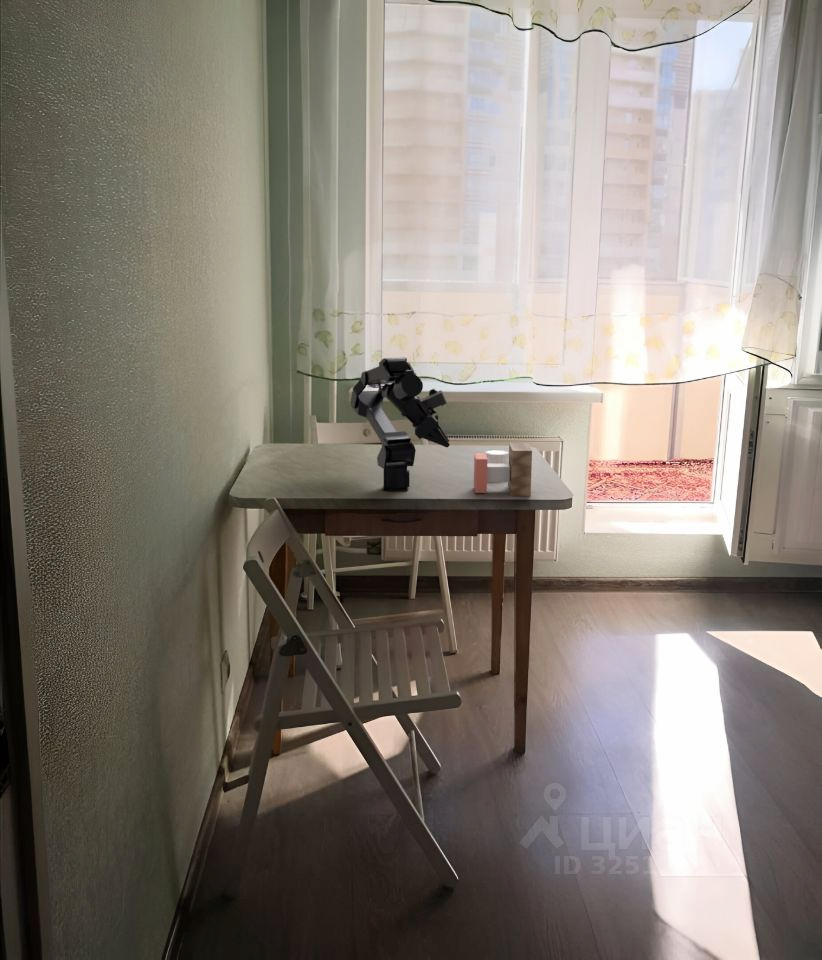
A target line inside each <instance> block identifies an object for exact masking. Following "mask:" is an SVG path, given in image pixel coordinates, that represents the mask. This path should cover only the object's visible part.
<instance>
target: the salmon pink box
mask: <svg viewBox="0 0 822 960" xmlns="http://www.w3.org/2000/svg"><path fill="white" fill-rule="evenodd" d="M473 456H474V459H473V460H474V461H473V489H474V493H475V494H487V493H488V492H487V489H488V488H487V487H488V482H489V483H508V482H509V480H510V466H509V463H507V464H487V456H486V453H485V452H484V453H482V452H481V453H478V452H477V453H476V452H475V453H473Z"/></svg>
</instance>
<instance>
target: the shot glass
mask: <svg viewBox="0 0 822 960" xmlns="http://www.w3.org/2000/svg"><path fill="white" fill-rule="evenodd" d="M484 453H486V456H487V464H509V451H507V450H503V449H490V450H489V449H488V450H485V451H484Z"/></svg>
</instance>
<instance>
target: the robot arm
mask: <svg viewBox="0 0 822 960" xmlns="http://www.w3.org/2000/svg"><path fill="white" fill-rule="evenodd" d="M360 375H361V376H360V379H359V380H358V382H357V383H356V384H355V385H354V386H353V388H352V391H351V392H352V393H351V397H350V405H351V406H350V407H351V408H352V409H353V411H354V412H355V413H356V415H358V416H360V417H363V418H365V419H366V420H367V421H368V423H369V424H370V426H371V427H372V429H373V431H374V432H375V434H376V436H377V437H378V439H379V441H380V442H381V448H380V449H379V452H378V455H377V456H376V461H377V465H378V467H380V468H381V469H383V485H382V491H384V492H406V491H408V489H409V488H410V470H408V467H413V466H414V463H415V460H416V459H415V458H416V452H417V451H416V447H415V445H414V444H413V441H411V440H412V438H411V437H410V436H409V435H408V432H407V431H405V430H403V431H402V430H401V431H400V430H399V431H397V430H396V429H395V426H394V425H393V424H392V422H391V421H390V419H389V418H388V416H387V415H386V413H385V412H384V410H383V409H382V407H383V406H382V405H383V402H384V399H386V400H388V401H389V402H390V403H391V405H393V406H394V407H395V408H396V409H397V410H398V411H399V413H400V415H401V416H402V417H404V418H406V419H407V420H408V421H409V422H410V423H411V424H412V425H411V426H412V427H413V428H414V435H415V436H416V437H417V438H418V439H419V440H421V439H423V440H427V441H430V442H432V443H435V444H437V445H440V446H442V447H444V448H449V447H450V446H451V445H450V443H449V442H450V440H449V437H448V436H447V435H446V433H445V432H444V430H443V429H442V427H441V425H440V423H439V414H437V412H438V411H437V410H436V408H438V407H442V406H445V405H447V402H448V401H447V400H446V397H445V395H444V392H443V391H442V390H439V391H438V390H437V389H435V388H432V389H430V390H429V391H428V395H427V396H426V397H423V398H421V397H420V396H418V395H421V393H422V391H423V388H424V385H423V381H422V379H421V378H420V377H419V376H418V375H417V373H416V371H415V370H414V368H413V367H412V365H411V362H410V361H408V358H407V357H405V356H404V357H389V358H387V357H385V358H381V360H380V361H379V362H378V366H376V367H373V368H371V369H368V370H364V371H362V372H361V374H360ZM384 382H392V383H390V384H387V383H385V384H384V385H383V386H382V383H384ZM367 386H378V389H377V390H370V391H369V390H367V391H364V390H365V389H366V387H367ZM434 414H436V415H435V416H434Z"/></svg>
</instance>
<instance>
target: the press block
mask: <svg viewBox="0 0 822 960" xmlns="http://www.w3.org/2000/svg"><path fill="white" fill-rule="evenodd" d="M508 452H509V455H508V464H509V466H510V480H509V482H507V487H509V488H508V491H509V490H510V491H509V494H510V493H511V494H510V496H511V497H531V494H532V465H533V462H532V461H533V449H532V448H531V446H530V444H529V443H528V442H509V443H508Z"/></svg>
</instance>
